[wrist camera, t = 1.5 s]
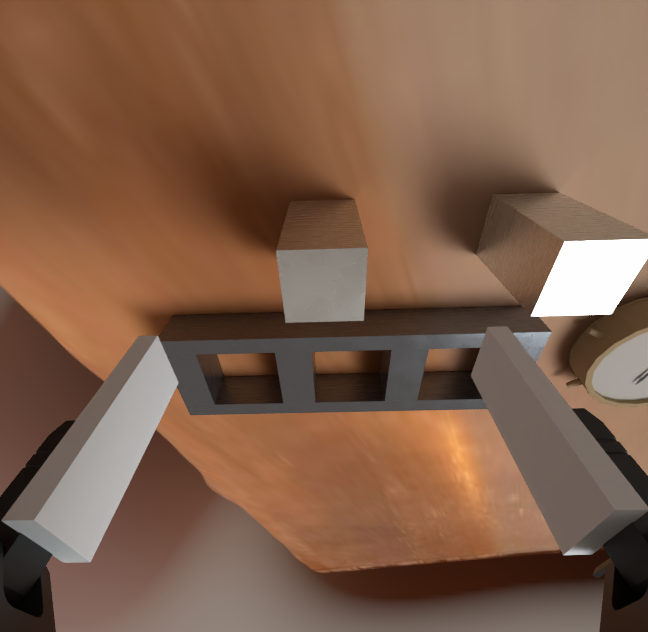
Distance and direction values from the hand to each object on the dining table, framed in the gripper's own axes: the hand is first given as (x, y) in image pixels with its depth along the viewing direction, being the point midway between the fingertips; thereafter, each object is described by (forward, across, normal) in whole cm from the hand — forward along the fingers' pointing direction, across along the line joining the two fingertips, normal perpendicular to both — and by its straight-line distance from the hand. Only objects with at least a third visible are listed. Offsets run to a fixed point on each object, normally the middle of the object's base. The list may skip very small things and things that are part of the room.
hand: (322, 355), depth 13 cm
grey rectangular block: (+13, 0, 0) cm, 13 cm away
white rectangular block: (+13, +14, 0) cm, 19 cm away
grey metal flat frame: (+13, +2, -12) cm, 17 cm away
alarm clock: (+13, +31, -11) cm, 35 cm away
